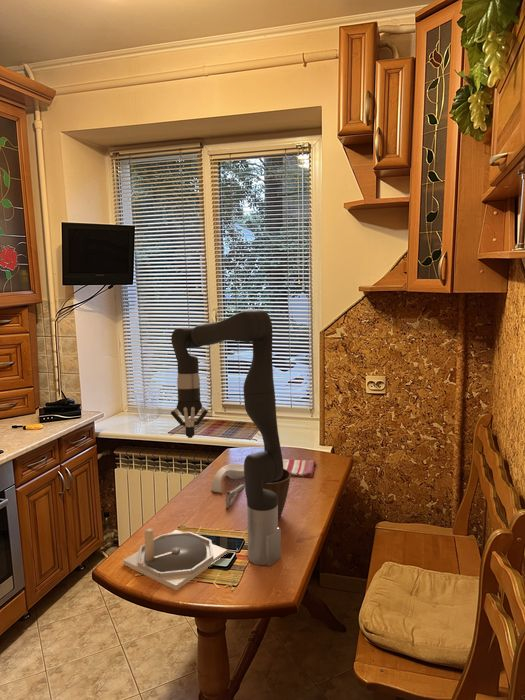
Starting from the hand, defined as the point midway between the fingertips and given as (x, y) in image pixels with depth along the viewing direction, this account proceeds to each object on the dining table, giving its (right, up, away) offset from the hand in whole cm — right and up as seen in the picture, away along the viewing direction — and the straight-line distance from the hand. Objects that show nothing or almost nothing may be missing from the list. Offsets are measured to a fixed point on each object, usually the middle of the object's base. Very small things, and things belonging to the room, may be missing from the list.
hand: (190, 437), depth 175 cm
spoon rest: (+11, -25, +39) cm, 48 cm away
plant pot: (+27, -30, +8) cm, 41 cm away
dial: (-2, -32, -18) cm, 37 cm away
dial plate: (-2, -34, -18) cm, 39 cm away
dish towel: (+35, -23, +52) cm, 67 cm away
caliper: (+14, -28, +24) cm, 39 cm away
